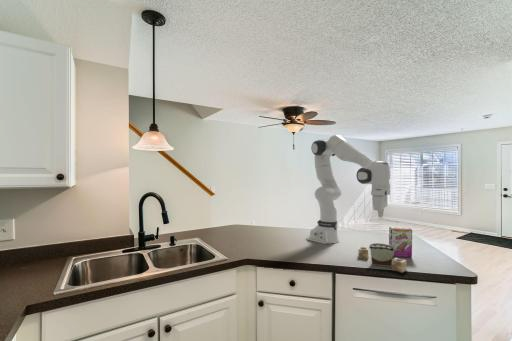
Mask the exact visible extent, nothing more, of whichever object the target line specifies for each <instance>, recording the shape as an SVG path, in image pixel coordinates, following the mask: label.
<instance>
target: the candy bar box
mask: <svg viewBox="0 0 512 341" xmlns="http://www.w3.org/2000/svg"><path fill="white" fill-rule="evenodd" d="M388 245H390V246H392V247H394V250H395V252H393V257H395V258H409V259H411V258H413V229H412V228H410V227H400V226H398V227H397V226H388Z"/></svg>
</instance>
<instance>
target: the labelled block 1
mask: <svg viewBox="0 0 512 341" xmlns="http://www.w3.org/2000/svg"><path fill="white" fill-rule="evenodd" d="M357 251H358V256H357V257H358V258H359V259H364V260H368V259H369V247H365V246H358V250H357Z"/></svg>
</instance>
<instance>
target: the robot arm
mask: <svg viewBox="0 0 512 341" xmlns="http://www.w3.org/2000/svg"><path fill="white" fill-rule="evenodd" d="M310 149H311V152H312V154H313V155H314V167H315V168H314V169H315V172H316V178H317V180H318V181H319V182H320V184H321V186H320V187H318V188H316V189H315V192H314V196H315V199H316V200H317V203H318V206H319V210H320V212H319V214H320V219H319V220H318V221H317V222H316V223H317V225H316V226H314V227H313V228H312V229H310V231H309V235H308V236H306V240H308V241H311V242H315V243H319V244H324V245H325V244H326V245H327V244H337V243H339V242H340V240H339V236H338V220H337V218H338V217H337V216H338V215H337V214H338V213H337V209H336V208H335V204H334V201H336V200H338V199H339V198H340V197H341V195H342V190H341V188H340V187H339V186H338V184H337V182H336V180H335V176H334V173H333V169H332V163H331V156H332V157H335V156H336V158H338V159H339V160H341V161H343V162H349V163H354V164H355V165H356V164H357V165H359V166H360V168H358V170H357V171H356V180H357V182H359V184H362V185H371V192H370V195H371V196H372V209H373V210H374V211H376V212H377V215H378V218H382V217H384V209H385V208H386V207H387V206H388V196H389V195H391V183H390V179H391V171H390V170H391V168H390V165H389V163H388V162H386V161H382V160H371V159H369V158H368V157H367V156H366V155H364V154H363V153H362V152H361V151H359V150H358V149H356V148H355V147H354V146H353V145H352V144H351V143H350V142H348V140H346V139H345V138H344V137H342V136H341V135H339V134H333V135H332V136H330V137H329V138H326V139H317V140H314V141H313V143H312V144H311V148H310Z"/></svg>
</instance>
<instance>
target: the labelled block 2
mask: <svg viewBox="0 0 512 341" xmlns="http://www.w3.org/2000/svg"><path fill="white" fill-rule="evenodd" d="M407 263H408V261H407V259H403V258H401V257H395V258H394V257H393V259H392V267H391V270H392V271H395V272H397V273H398V272H399V273H404V272H406V271H407V270H408V269H407Z"/></svg>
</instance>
